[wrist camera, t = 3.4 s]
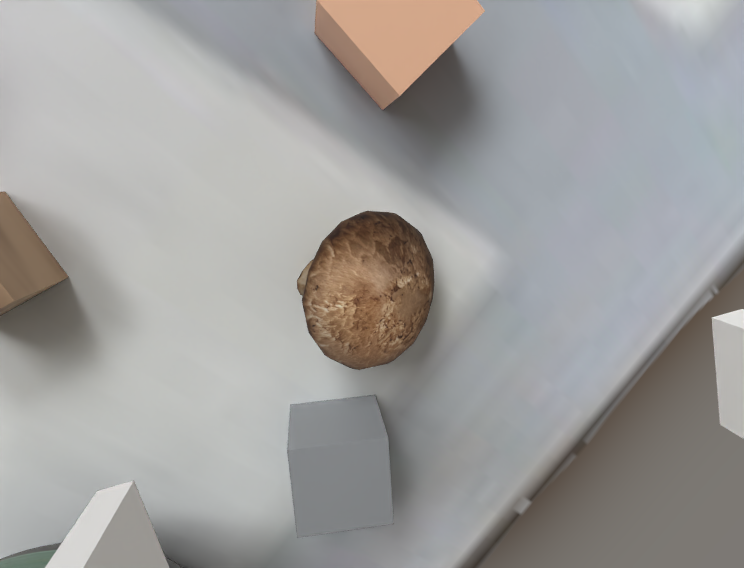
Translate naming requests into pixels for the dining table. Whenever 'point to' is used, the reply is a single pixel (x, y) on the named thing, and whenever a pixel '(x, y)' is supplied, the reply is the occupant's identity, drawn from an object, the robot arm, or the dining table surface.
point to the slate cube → (339, 466)
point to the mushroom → (368, 289)
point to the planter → (42, 558)
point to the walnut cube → (23, 259)
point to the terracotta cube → (391, 38)
